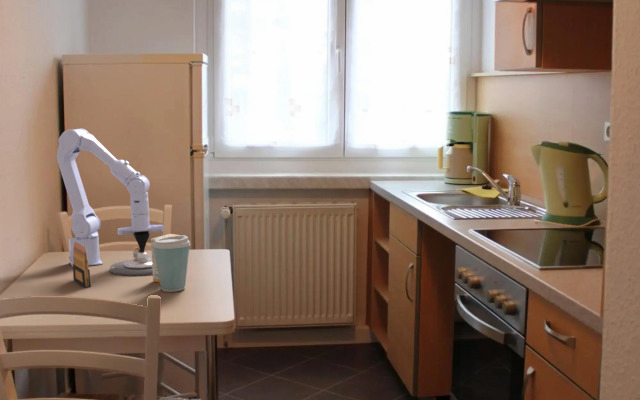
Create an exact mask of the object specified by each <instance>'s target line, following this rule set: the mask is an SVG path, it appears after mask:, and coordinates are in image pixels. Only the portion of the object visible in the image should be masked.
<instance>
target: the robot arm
mask: <svg viewBox="0 0 640 400" xmlns="http://www.w3.org/2000/svg"><path fill="white" fill-rule="evenodd" d="M57 142H58V145H57V146H58V148H57V153H56V161H57V164H58V167H59V171H60V173H61V177H62V179H63V183H64V186H65V189H66V192H67V196H68V199H69V202H70V206H71V208H72V214H71V217H70V219H71V223H72V224H71V232H72V233H73V235H74V237H71V238H68V247H69V255H68V259H69V260H68V261H69V263H70V266H71V267H72V268H73V264H74V262H73V254H74V242H76V243H79V244H81V245H83V247H84V246H85V248H86V252H87V259H88V266H95V265H98V266H99V265H102V264H103V261H102V260H101V258H100V242H99V241H100V240H99V232H98V231H99V230H100V229H101V219H100V218H99V217H98V216H97V215H96V213H95V209H93V207H92V206H90V204H89V201H88V197H87V194H86V189H85V188H84V184H83V181H82V178H81V174H80V171H79V169H78V164H77V162H76V159H77V157H78V155H79V154H80V152H81V151H83V152H84V151H85V152H90V153H92V154H93V155H94V156H96V157H97V158H98V159H99V160H100V161H102V162H103V163H104V164H105V165H106V166H108V167H109V169H110V170H109V171H110V174H111V175H113V177H115V178H116V179H117V180H118V181H119V182H121V183H122V184H123V185H124V186H125V187H126V190H127V192H128V193H129V195H130V218H131V226H127V227H120V228H117V235H118V236H122V235H132V234H133V236H134V238H135V240H136V242H137V245H138V248H139V249H140V250H141V251H143V252H145V249H146V245H147V243H148V240H149V238H150V233H154V232H164V231H165V226H164V225H163V224H151V223H150V205H149V203H150V200H149V189H150V188H151V187H150V186H151V182H150V180H149V179H148V177H147V176H146V175H143V174H141V173H140V172H139V171H136V169H134V168H133V167H132V166H131V165H130V162H129V161H128V160H124V159H117V158H116V157H115V156H114V155H113V154H112V153H111V152H110V151H109V150H108V149H107V148H106V147H105V146H104V145H103V143H101V142H100V141H99V140H98V139H97V138H96V137H95V136H94V134H91V133H90V132H89V131H88V130H86V129H85V128H80V127H79V128H76V129H66V130H64V131H63V132H62V133H61V135H60V136H59V138H58V140H57Z"/></svg>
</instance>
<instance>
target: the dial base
mask: <svg viewBox="0 0 640 400" xmlns="http://www.w3.org/2000/svg"><path fill="white" fill-rule="evenodd" d="M128 260H129V259H126V260H123V261H118V262H115V263H114V264H112V265H110V267H109V268H110V272H111V273H112V274H115V275H119V276H127V277H128V276H129V277H138V276H139V277H141V276H153V269H152V268H146V269H130V268H125V267H124V266H123V263H124V262H125V261H128Z"/></svg>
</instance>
